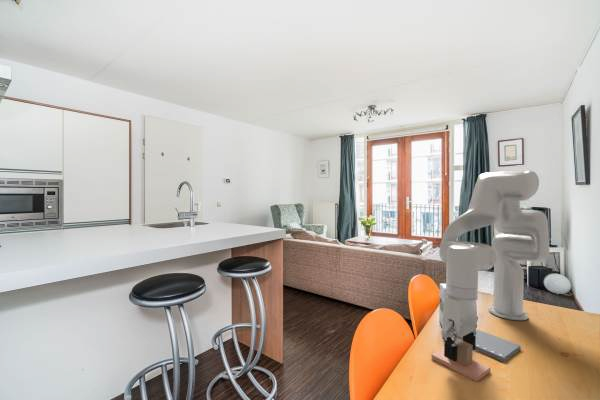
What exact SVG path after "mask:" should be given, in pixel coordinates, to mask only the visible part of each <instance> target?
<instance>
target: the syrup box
mask: <svg viewBox="0 0 600 400" xmlns="http://www.w3.org/2000/svg"><path fill="white" fill-rule="evenodd" d="M446 296H447V295H446V282H445V283H443V282H442V283H439V315H438V316H439V323H440V325H441V326H442V320H443V309H444V303H445V298H446Z"/></svg>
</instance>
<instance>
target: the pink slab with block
mask: <svg viewBox="0 0 600 400" xmlns="http://www.w3.org/2000/svg"><path fill="white" fill-rule="evenodd" d="M451 339H452V340H453V339H454V337H452V338H451ZM456 346H458V353H457V361H456V362H455V361H453V360H451V359H449V358H446V357H445V356H444V347H442V348H441V349H439V350H437V351H435V352H433V353H432V354H431V359H432V360H434V361H436V362H438V363H440V364H442V365H444V366H446V367H448V368H450V369H452V370H454V371H456V373H457V372H458V373H460V374H461V375H463V376H465V377H467V378H469V379H471V380H473V381H474V382H478V381H480V380H481V379H483V378H484V377H485V376H487V375H488V374H489V373H491V367H490V366H488V365H486V364H484V363H481V362H479V361H478V360H475V359H473V357H474V356H473V355H474V353H473V351H474V350H473V345H471V344H469V343H466V342H464V341H462V340H460V338H458V341H457V344H456Z"/></svg>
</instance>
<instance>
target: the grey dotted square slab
mask: <svg viewBox="0 0 600 400" xmlns="http://www.w3.org/2000/svg"><path fill="white" fill-rule="evenodd" d="M476 332H477V333H476V335H474V336H476V346H475V350H474V351H478V352H479V353H482V354H484V355H487V356H489V357H492V358H494V359H495V360H496V359H497V360H499V361H501V362H503V363H504V362H506V361H507V360H509V359H510V358H511V357H512V356H513V355H515V354H516V353H518V352H519V351H520V350H521V344H518V343H516V342H512V341H510V340H508V339H507V340H506V339H504V338H501V337H499V336H496V335H493V334H490V333H488V332H486V331H483V330H480V329H476ZM459 340H462V341H463V337H460V338H459Z"/></svg>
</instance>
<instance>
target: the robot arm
mask: <svg viewBox="0 0 600 400" xmlns="http://www.w3.org/2000/svg"><path fill="white" fill-rule="evenodd" d="M539 186H540V179H539V175H538V174H537V173H536V172H535V171H533V170H513V171H511V170H509V171H492V172H491V171H489V172H488V171H487V172H483V173H480V175H478V177H477V180H476V182H475V185H474V188H473V191H472V195H471V197H470V200H469V205H468V209H467V210H466V212H464V213H462V214H461V215H459V216H458V217H456V218H455V219H454V220H453V221H451V222H450V223H449V224H448V226H447V227H446V228H445V230H444V232H443V236H442V238H441V242H440V244H439V245H440V246H439V251H438V254H439V255H438V256H439V257H440V259H441V261H442V262H443V263H445V264H446V272H445V274H446V276H445V283H446V295H447V296H446V298H445V303H444V309H443V320H442V325H441V331H440V334H441V337H442V340H443V343H444V345H443V348H444V356H445V357H446V358H449V359H451V360H453V361H455V362H456V361H457V353H458V346H456V344H457V341H458V339H461V338H463V341H464V342H466V343H469V344H471V345H473V351H476V350H475V346H476V336H474V335H476V333H477V332H476V330H477V328H478V319H479V316H478V309H477V307H478V306H477V301H478V297H479V293H478V292H479V272H483V271H485V272H486V271H488V270H491V269H492V268H493V296H492V297H493V300H492V305H489V306H488V312H489V313H490V314H492V315H494V316H496V317H500V318H503V319H506V320H511V321H526V320H528V318H529V314H528V313H527V312H525V311H524V289H525V288H524V287H525V286H524V283H525V280H524V279H525V272H524V268H522V266H521V264H520V263H519V262H518V261H524V262H532V263H544V262H547V260H548V259H549V257H550V237H549V235H550V233H549V223H548V222H549V221H548V218H547V215H546V213H544V212H543V211H540V210H536V209H535V210H534V209H522V208H521V202H523V201H528V200H529V199H531V198H532V197H533V196H534V195H536V193H537V192H538V190H539ZM520 201H521V202H520ZM491 225H494V228H495V230H496V231H497V232H498V233H500V234H496V235H494V236H493V238H492V240H491V245H489V244H485V243H480V242H472V241H467V240H466V241H465V240H464V241H463V240H458V239H459V238H460V237H461V236H462V235H464V234H465V233H469V232H470V231H474V230H477V229H481V228H485V227H488V226H491ZM451 336H452V337H453V338H454V339H453V340H452V338H451Z"/></svg>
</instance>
